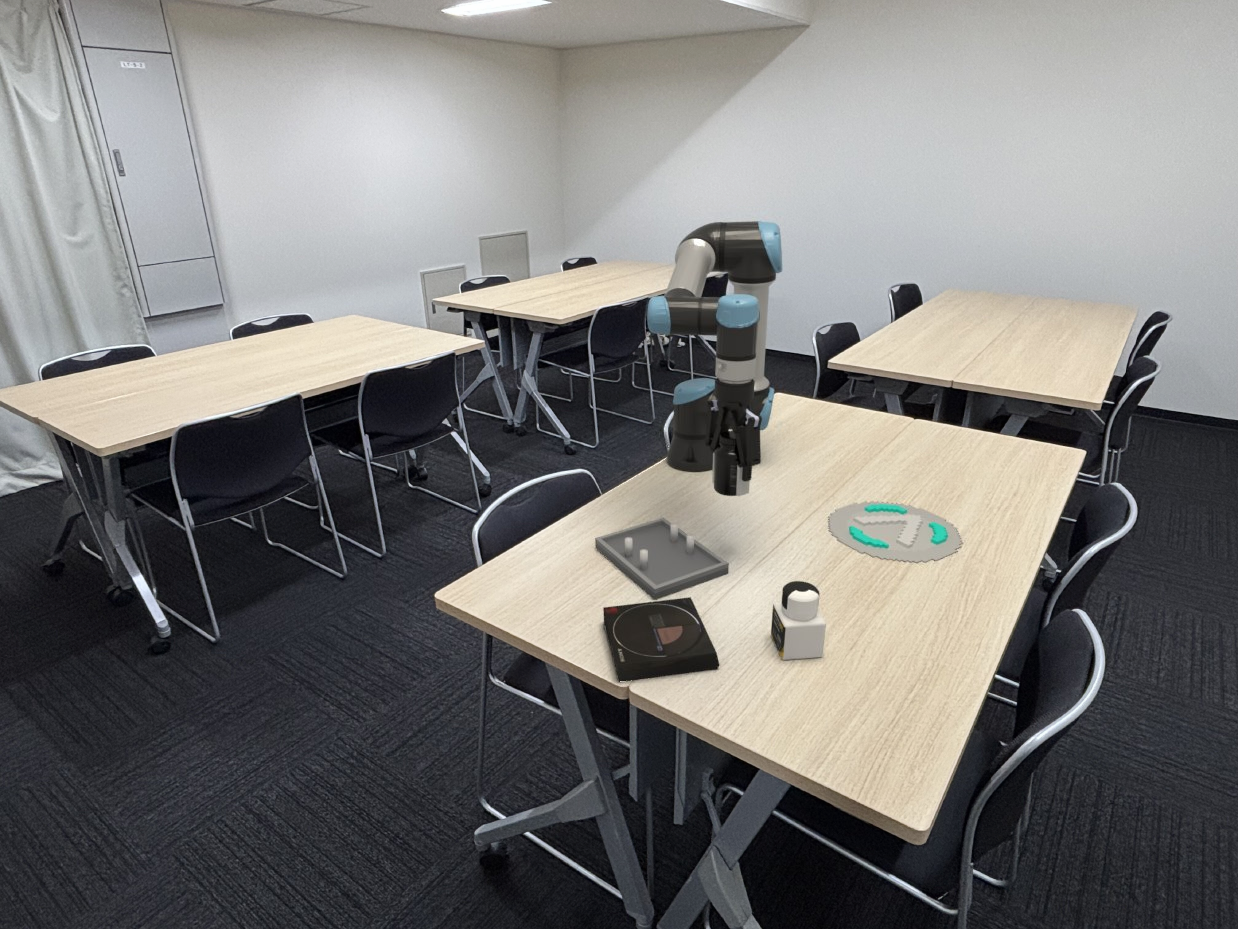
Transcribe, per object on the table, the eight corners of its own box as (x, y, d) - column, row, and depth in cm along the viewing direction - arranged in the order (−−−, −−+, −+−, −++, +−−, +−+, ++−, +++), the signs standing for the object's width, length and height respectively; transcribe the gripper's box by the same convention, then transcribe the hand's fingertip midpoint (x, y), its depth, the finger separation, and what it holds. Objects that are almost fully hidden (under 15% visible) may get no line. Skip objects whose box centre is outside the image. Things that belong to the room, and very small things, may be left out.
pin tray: (595, 548, 157) (594, 526, 154) (663, 527, 165) (663, 505, 163) (654, 600, 138) (654, 575, 135) (728, 573, 146) (729, 550, 144)
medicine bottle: (770, 635, 127) (774, 577, 122) (809, 632, 127) (814, 575, 122) (781, 661, 120) (786, 601, 115) (823, 658, 120) (829, 598, 116)
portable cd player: (719, 671, 119) (720, 651, 117) (618, 684, 116) (618, 665, 115) (693, 614, 134) (693, 596, 132) (604, 625, 131) (603, 607, 130)
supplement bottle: (749, 484, 147) (752, 430, 142) (744, 498, 141) (747, 442, 136) (716, 481, 149) (718, 427, 144) (710, 495, 143) (712, 439, 138)
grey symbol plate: (987, 541, 157) (988, 534, 156) (901, 578, 144) (902, 571, 143) (884, 495, 179) (885, 489, 178) (802, 523, 166) (803, 517, 165)
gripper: (687, 370, 141) (686, 475, 150) (755, 394, 126) (748, 510, 135) (717, 364, 145) (713, 467, 154) (786, 387, 129) (778, 500, 138)
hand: (730, 487), depth 144 cm, fingers closed on supplement bottle, 7 cm apart
